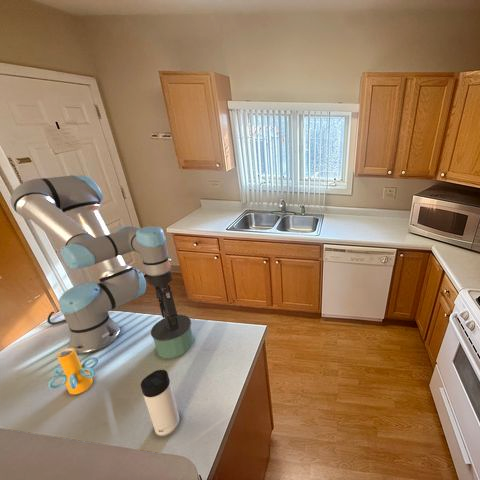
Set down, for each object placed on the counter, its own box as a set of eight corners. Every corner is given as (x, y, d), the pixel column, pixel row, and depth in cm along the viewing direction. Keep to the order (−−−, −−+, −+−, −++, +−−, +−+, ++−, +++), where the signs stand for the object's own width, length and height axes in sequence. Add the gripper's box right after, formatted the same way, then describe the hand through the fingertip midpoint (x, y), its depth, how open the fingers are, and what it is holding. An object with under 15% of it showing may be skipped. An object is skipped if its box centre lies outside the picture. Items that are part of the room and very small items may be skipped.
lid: (147, 327, 97) (141, 308, 93) (184, 312, 106) (180, 294, 102) (156, 348, 88) (151, 327, 85) (196, 330, 97) (193, 310, 93)
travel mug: (164, 442, 70) (149, 393, 62) (150, 429, 73) (134, 380, 65) (185, 422, 75) (173, 374, 67) (171, 410, 78) (159, 363, 70)
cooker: (153, 345, 100) (148, 326, 97) (186, 330, 109) (183, 312, 105) (162, 364, 92) (157, 345, 89) (197, 347, 101) (194, 328, 97)
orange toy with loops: (112, 372, 89) (99, 340, 83) (88, 401, 79) (72, 367, 73) (75, 372, 88) (60, 339, 82) (46, 401, 78) (27, 366, 72)
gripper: (181, 280, 82) (191, 333, 91) (161, 256, 96) (172, 304, 105) (154, 289, 77) (168, 344, 86) (138, 262, 92) (151, 312, 100)
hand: (170, 322), depth 96 cm, fingers open, 9 cm apart
